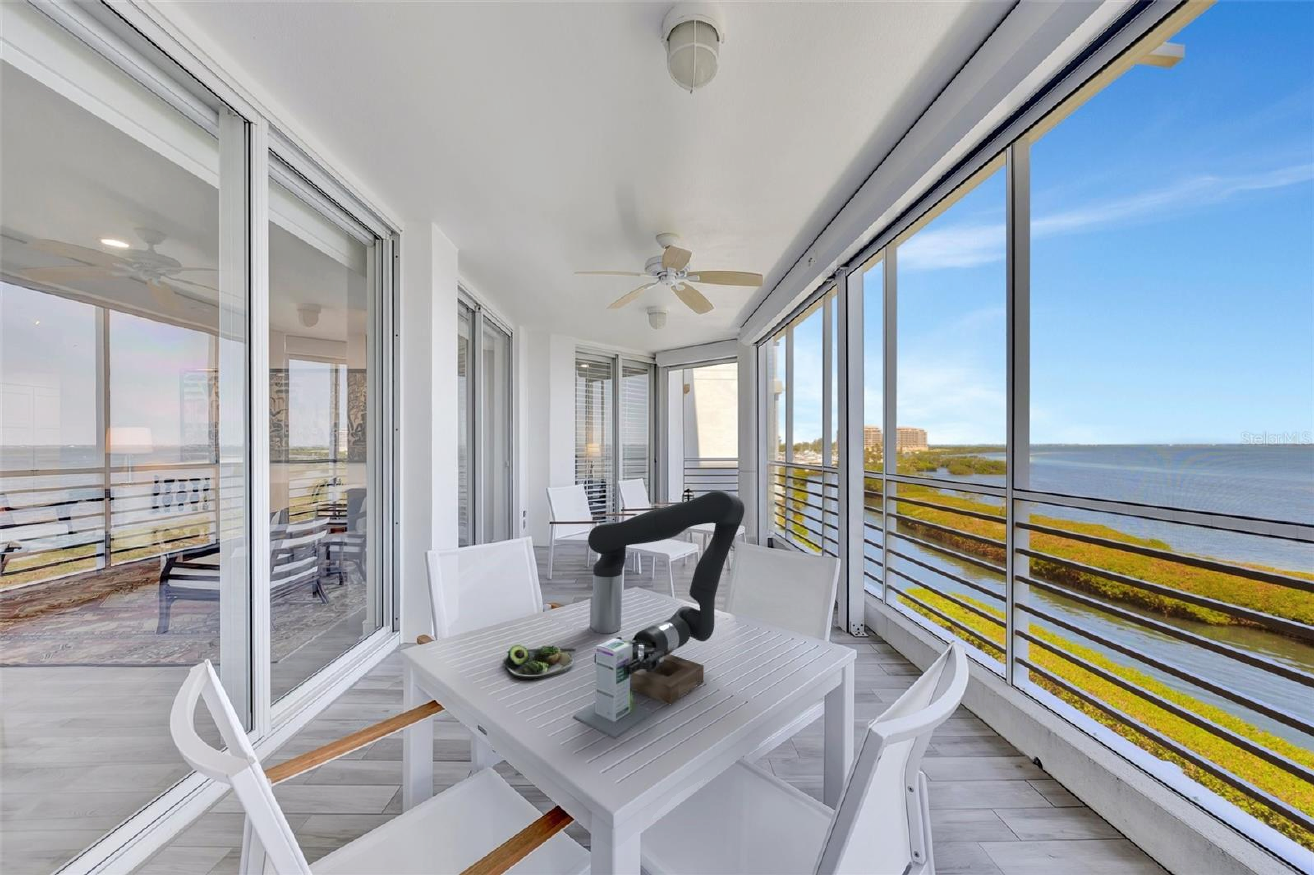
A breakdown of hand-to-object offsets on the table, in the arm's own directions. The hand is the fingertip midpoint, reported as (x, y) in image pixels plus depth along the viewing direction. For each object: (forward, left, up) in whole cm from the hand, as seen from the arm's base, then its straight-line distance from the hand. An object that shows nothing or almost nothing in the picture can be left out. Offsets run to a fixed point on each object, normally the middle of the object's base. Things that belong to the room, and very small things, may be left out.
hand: (610, 664), depth 101 cm
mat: (0, +1, -11) cm, 11 cm away
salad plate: (-32, +6, -12) cm, 35 cm away
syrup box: (0, +2, -11) cm, 11 cm away
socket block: (0, +19, -11) cm, 22 cm away
